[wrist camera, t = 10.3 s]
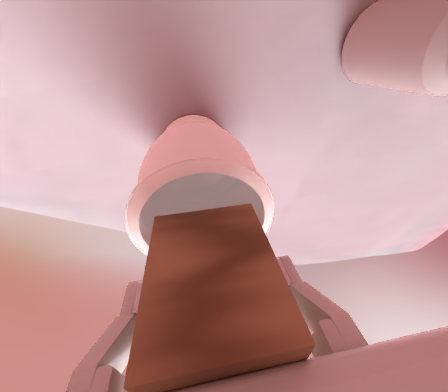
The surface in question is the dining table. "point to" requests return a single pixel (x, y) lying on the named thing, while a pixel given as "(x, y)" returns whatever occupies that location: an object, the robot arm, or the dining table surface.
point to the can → (400, 46)
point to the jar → (194, 178)
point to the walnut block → (212, 303)
